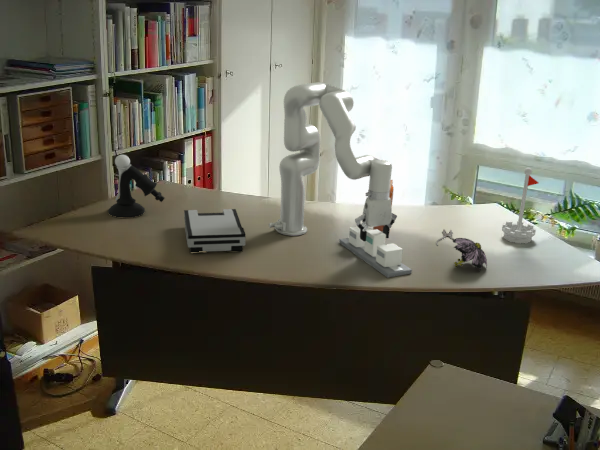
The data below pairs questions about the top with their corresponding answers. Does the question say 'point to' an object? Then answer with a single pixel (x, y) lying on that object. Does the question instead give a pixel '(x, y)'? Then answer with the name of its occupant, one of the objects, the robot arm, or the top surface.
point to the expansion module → (374, 241)
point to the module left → (356, 236)
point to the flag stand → (520, 231)
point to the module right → (389, 255)
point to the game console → (214, 231)
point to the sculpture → (126, 202)
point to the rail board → (374, 260)
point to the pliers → (446, 236)
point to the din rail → (394, 268)
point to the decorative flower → (470, 252)
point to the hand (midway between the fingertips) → (374, 238)
